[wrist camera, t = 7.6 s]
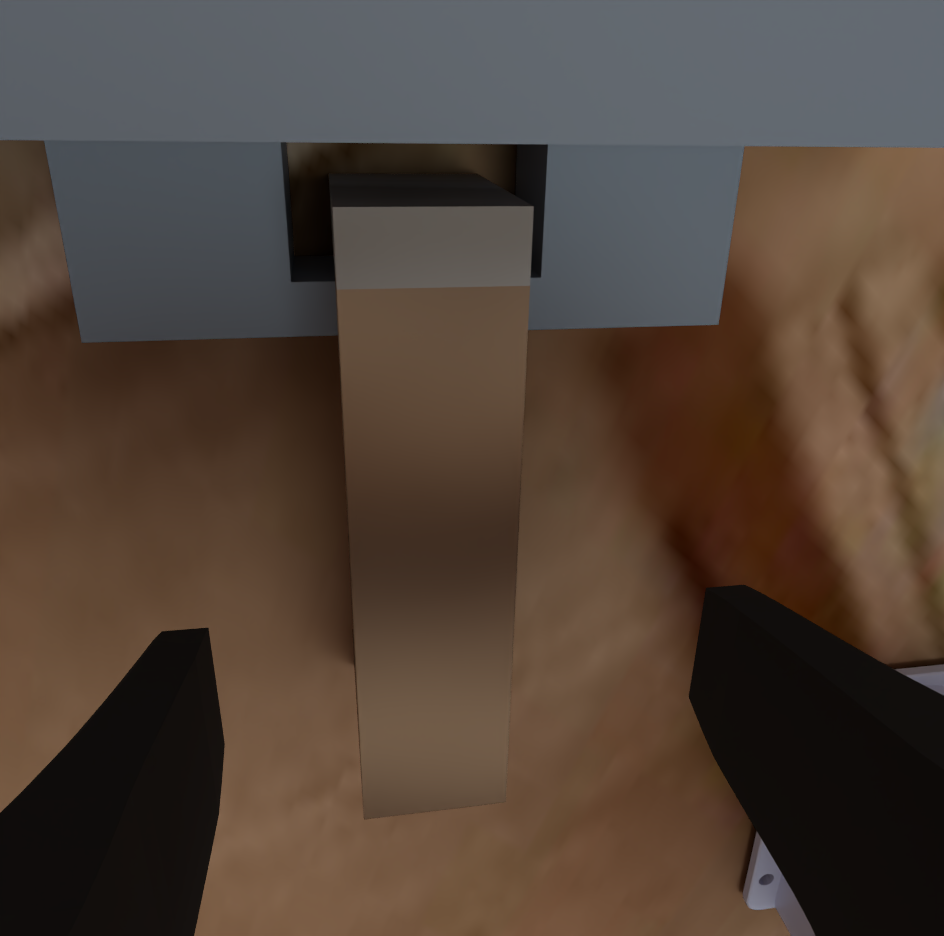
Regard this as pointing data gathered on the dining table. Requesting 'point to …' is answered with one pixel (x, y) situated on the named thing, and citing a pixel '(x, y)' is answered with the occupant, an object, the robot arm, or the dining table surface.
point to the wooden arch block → (432, 475)
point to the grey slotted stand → (437, 136)
